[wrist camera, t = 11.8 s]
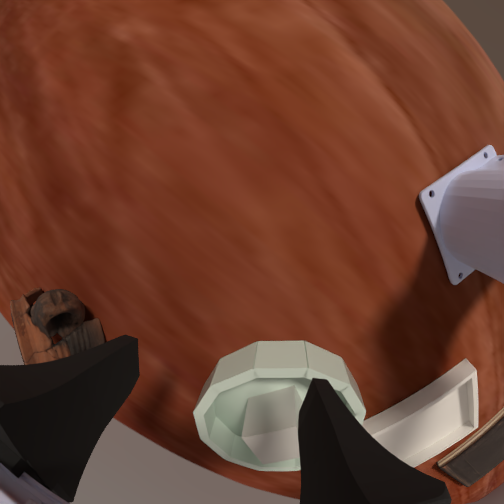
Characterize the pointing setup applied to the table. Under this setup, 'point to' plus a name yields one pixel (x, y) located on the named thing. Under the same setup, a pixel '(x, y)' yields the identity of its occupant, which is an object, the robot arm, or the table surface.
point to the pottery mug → (52, 326)
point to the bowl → (264, 381)
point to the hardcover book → (477, 453)
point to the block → (273, 425)
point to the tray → (429, 417)
